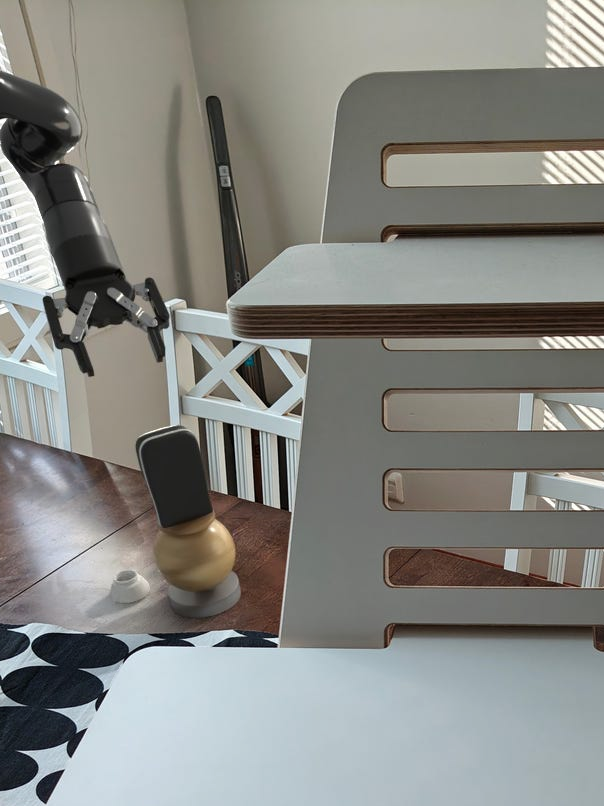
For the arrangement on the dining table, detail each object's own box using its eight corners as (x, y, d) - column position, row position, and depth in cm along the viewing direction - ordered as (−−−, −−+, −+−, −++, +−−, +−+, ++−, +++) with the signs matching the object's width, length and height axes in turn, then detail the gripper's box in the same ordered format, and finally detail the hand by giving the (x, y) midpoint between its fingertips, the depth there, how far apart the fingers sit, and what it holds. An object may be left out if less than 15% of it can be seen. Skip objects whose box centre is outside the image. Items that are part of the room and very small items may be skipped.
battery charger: (205, 501, 123) (185, 417, 116) (216, 513, 121) (196, 428, 114) (151, 518, 120) (127, 433, 113) (161, 531, 118) (138, 445, 111)
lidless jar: (108, 590, 130) (115, 609, 127) (102, 572, 128) (109, 590, 125) (145, 579, 132) (154, 598, 128) (140, 561, 130) (148, 579, 127)
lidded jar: (163, 624, 124) (139, 541, 116) (171, 581, 131) (148, 500, 124) (243, 615, 125) (224, 532, 117) (246, 572, 132) (228, 492, 125)
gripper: (20, 242, 117) (65, 365, 116) (139, 223, 122) (183, 340, 121) (27, 275, 124) (70, 392, 123) (140, 256, 129) (181, 368, 128)
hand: (126, 366), depth 122 cm, fingers open, 8 cm apart
